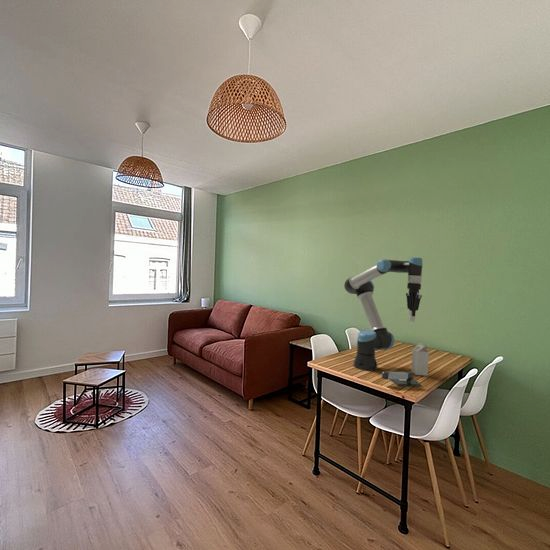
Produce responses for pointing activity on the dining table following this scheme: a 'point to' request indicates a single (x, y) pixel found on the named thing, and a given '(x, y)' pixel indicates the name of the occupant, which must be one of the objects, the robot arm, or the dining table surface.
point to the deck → (405, 382)
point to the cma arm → (397, 375)
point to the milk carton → (420, 360)
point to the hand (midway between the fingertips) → (411, 321)
